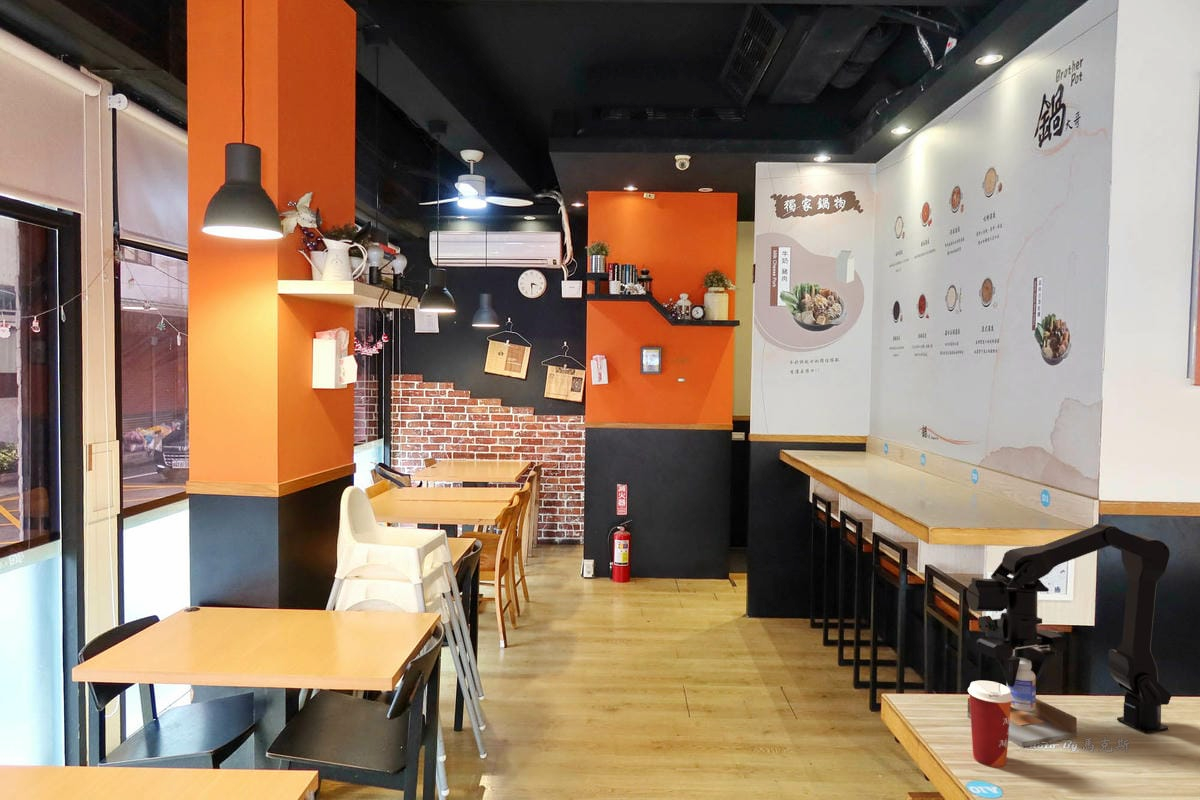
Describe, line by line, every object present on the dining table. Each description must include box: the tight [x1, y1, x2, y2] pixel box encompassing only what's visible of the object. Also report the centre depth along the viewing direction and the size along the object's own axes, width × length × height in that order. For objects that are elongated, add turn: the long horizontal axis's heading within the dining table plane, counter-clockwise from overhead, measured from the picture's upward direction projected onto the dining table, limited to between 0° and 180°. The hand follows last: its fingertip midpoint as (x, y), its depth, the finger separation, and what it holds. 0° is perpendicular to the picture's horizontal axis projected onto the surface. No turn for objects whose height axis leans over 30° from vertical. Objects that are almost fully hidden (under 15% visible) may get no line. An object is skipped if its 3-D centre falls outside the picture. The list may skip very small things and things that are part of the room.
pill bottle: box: [1006, 656, 1037, 711], centre depth 157 cm, size 5×5×10 cm
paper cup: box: [967, 679, 1013, 768], centre depth 141 cm, size 8×8×14 cm
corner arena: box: [967, 697, 1078, 748], centre depth 155 cm, size 14×14×4 cm
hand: (1021, 684), depth 157 cm, fingers closed on pill bottle, 5 cm apart
